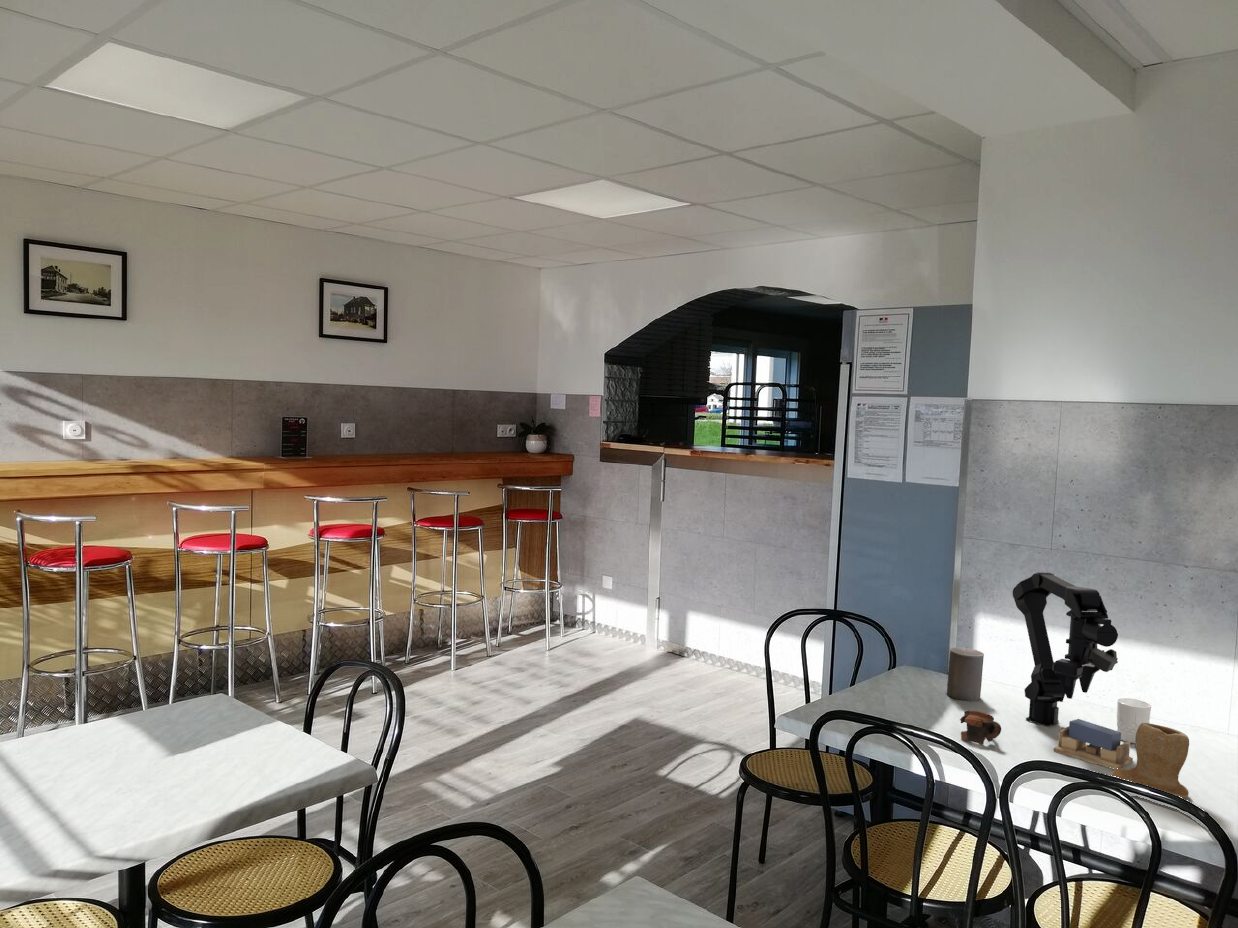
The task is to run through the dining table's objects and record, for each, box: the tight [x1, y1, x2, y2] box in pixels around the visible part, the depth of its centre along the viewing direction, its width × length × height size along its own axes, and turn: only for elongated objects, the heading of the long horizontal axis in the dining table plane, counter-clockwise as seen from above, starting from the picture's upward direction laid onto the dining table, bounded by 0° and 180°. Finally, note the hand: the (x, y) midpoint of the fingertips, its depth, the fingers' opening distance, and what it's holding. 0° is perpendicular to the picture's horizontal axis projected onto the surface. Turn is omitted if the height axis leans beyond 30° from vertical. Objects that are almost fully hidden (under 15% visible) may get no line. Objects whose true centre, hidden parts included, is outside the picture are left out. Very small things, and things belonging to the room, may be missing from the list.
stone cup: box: [1110, 722, 1190, 799], centre depth 211 cm, size 15×12×15 cm
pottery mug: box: [959, 710, 1002, 745], centre depth 240 cm, size 12×10×8 cm
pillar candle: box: [945, 646, 985, 702], centre depth 277 cm, size 10×10×15 cm
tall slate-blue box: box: [1068, 718, 1122, 751], centre depth 231 cm, size 11×4×4 cm, turn 33°
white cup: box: [1116, 697, 1152, 745], centre depth 245 cm, size 8×8×10 cm
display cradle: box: [1053, 726, 1134, 770], centre depth 231 cm, size 10×15×5 cm, turn 41°
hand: (1077, 695), depth 242 cm, fingers open, 9 cm apart
